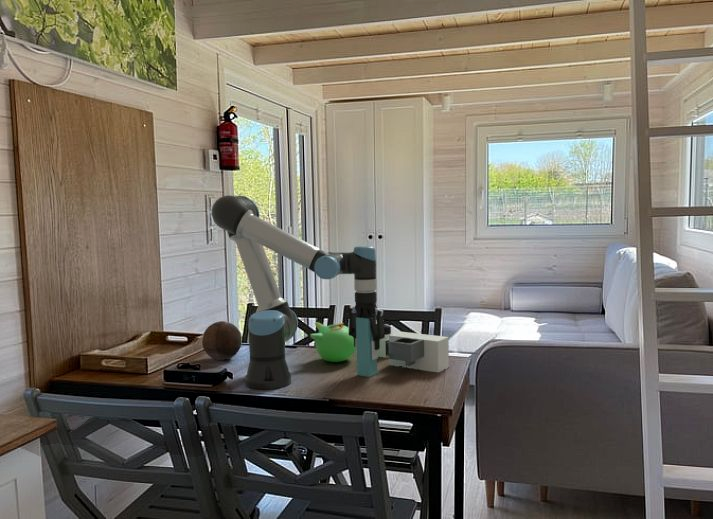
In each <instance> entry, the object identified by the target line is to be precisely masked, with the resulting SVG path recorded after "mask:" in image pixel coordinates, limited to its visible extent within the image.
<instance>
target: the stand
mask: <svg viewBox="0 0 713 519" xmlns="http://www.w3.org/2000/svg"><path fill="white" fill-rule="evenodd" d="M401 337H406V338H414V339H423V340H424V357H422V358H420V359H417V360H415V364H413V365H411V366H406V364H405V361H401V360H394V359H389V358H388V360H389V361H388V362H389V366H393V365H394V366H393V367H399V366H402V367H401V368H406V367H407V369H412V368H413V369H414V370H418V369H419V370H421V371H424V372H432V373H440V372H443V371H445V370H446V369H448V367H449V368H450V359H449V358H450V356H449V354H450V353H449V352H450V350H449V347H450V346H449V343H450V342H449V339H450V338H449V336H442V335H433V334H432V335H431V334H425V333H424V334H423V333H416V332H406V331H399V332H398V331H397V332H395V333H391V335H389V341H392V340H395V339H398V338H401ZM444 369H445V370H444Z"/></svg>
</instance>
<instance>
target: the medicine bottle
mask: <svg viewBox="0 0 713 519" xmlns="http://www.w3.org/2000/svg"><path fill="white" fill-rule="evenodd" d="M384 334H385V338H383V339H380V348H379V349H378V358H382V357H383V358H384V359H387V358H389V335H392V328H391V325H389V324H387V323H385V324H384Z"/></svg>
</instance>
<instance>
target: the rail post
mask: <svg viewBox="0 0 713 519" xmlns="http://www.w3.org/2000/svg"><path fill="white" fill-rule="evenodd" d="M372 318H374V317H372ZM372 318H371V319H372ZM375 321H376V322H377V320H375ZM372 340H373V336H372V332H371V328H370V321H369V319H368V318H363V317H360V318H358V317H357V316H356V344H357V357H356V375H357V376H360V377H368V378H369V377H373V376H375V375H377V374H378V358H377V359H375V360H372Z"/></svg>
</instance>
